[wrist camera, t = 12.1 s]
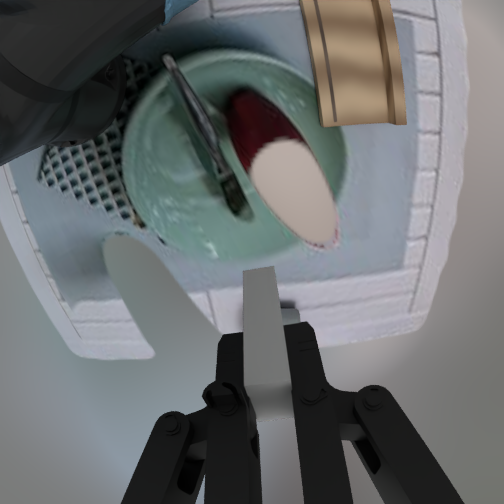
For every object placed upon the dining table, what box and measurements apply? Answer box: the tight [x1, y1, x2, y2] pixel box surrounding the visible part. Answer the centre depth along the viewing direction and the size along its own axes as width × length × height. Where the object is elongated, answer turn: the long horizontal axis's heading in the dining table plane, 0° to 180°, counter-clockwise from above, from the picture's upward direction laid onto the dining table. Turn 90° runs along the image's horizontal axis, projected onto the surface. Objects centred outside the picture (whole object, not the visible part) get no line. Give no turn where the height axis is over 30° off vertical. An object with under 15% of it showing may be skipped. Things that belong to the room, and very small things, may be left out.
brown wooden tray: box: [299, 0, 407, 127], centre depth 26 cm, size 24×10×4 cm, turn 10°
